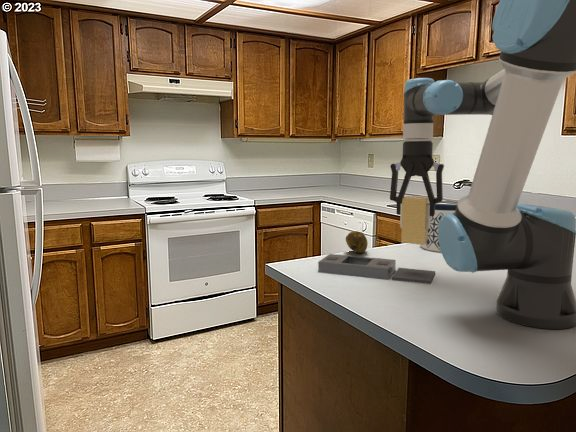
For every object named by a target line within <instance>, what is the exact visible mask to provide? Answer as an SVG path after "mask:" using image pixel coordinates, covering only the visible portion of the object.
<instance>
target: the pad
mask: <svg viewBox="0 0 576 432" xmlns="http://www.w3.org/2000/svg"><path fill="white" fill-rule="evenodd" d="M435 275H436V270H427V269H426V270H425V269H417V268H416V269H415V268H407V267H398V268H397V270H395V271H394V272H393V274H392V275H391V280H392V281H399V282H408V283H418V284H424V285H425V284H427V285H431V284H432V281H433V279H434V277H435Z"/></svg>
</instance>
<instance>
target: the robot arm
mask: <svg viewBox="0 0 576 432" xmlns="http://www.w3.org/2000/svg"><path fill="white" fill-rule="evenodd" d="M491 25H492V26H491V27H492V29H491V30H492V31H493V34H492V36H491V37H492V41H493V44H494V45H495V47H496V49H497V50H499V51H500V54H499V56H498V61H499V62H500V64H501V65H502V67H503V68H502V70H499V72H497V73H496V74H494V75H492V76H491V77H489V78H488V79H486V80H484V81H454V80H451V79H444V80H442V79H440V80H437V81H435V80H434V79H433V78H430V77H417V78H411V79H408V80H406V81H405V83H404V91H403V124H402V125H403V127H402V129H403V130H402V139H403V140H405V141H403V142H402V158H401V159H400V162H397V163H391V164H390V171H391V181H390V192H389V200H390V201H393V202H395V203H396V215H399V217H400V218H399V219H400V220H399V221H400V222H399V227H400V228H401V229H402V198H404V197H405V196H406V193H407V189H408V187H409V184H410V181H411V178H412V177H415V176H417V177H421V179H422V181H423V184H424V189H425V191H426V194H427V196H428V199H429V203H428V204H427V211H426V229H429V228H430V216H434V215H435V204H440V203H441V202H443V201H444V196H443V171H444V167H445V164H443V163H438V162H435V161H434V158H433V145H434V143H433V141H432V139H433V138H434V120H435V118H434V116H441V115H443V116H447V115H448V116H455V115H456V116H457V115H458V116H460V115H461V116H462V115H467V116H468V115H483V116H484V115H486V116H487V115H489V116H491V119H490V122H489V126H488V128H487V133H486V135H485V138H484V142H483V145H482V149H481V152H480V156H479V158H478V162H477V165H476V169H475V172H474V176H473V179H472V182H471V186H470V188H469V189H470V190H469V193H468V194H466V195H464V196H461V198H459V200H458V201H457V204H456V205H457V207H456V210H455V213H454V214H451V213H448V214H446V215H444V216H443V217H442V218H441V219H440V221H439V225H438V241H439V246H440V250H441V252H440V253H441V255H442V258H443V259H444V261H445V263H446V265H448V267H449V268H450V269H452V270H454V271H456V272H458V273H461V272H462V273H476V272H487V271H488V272H489V271H490V272H491V271H504V270H507V273H506V274H507V275H506V277H505V280H504V283H503V285H502V287H501V290H500V292H499V293H498V296H497V298H496V303H495V305H496V306H495V311H496V313H497V314H498V315H499V316H500V317H502V318H504V319H505V320H507V321H510V322H513V323H515V324H519V325H522V326H525V327H526V326H527V327H532V328H538V329H547V330H549V329H550V330H560V329H561V330H562V329H570V328H572V327H575V326H576V297H575V292H574V289H573V286H572V277H573V265H574V253H575V246H576V244H575V243H576V216H575V214H574V213H573V212H572V211H569V210H565V209H561V208H554V207H550V206H548V207H547V206H542V205H534V204H524V203H519V201H520V199H521V196H522V193H523V190H524V188H525V185H526V182H527V179H528V177H529V174H530V173H531V168H532V166H533V163H534V160H535V157H536V155H537V152H538V150H539V147H540V144H541V142H542V139H543V137H544V136H543V135H544V134H545V130H546V128H547V125H548V123H549V120H550V117H551V115H552V111H553V109H554V106H555V104H556V101H557V98H558V96H559V93H560V90H561V88H562V85H563V83H564V80H565V79H567V78H568V77H570V76H572V75H574V74H576V0H499V2H498V4H497V7H496V9H495V13H494V16H493V19H492V24H491ZM401 167H402V169H403V171H405V174H404V177H403V181H402V184H401V186H400V190H399V192H398V195H397V191H398V182H399V180H398V179H399V171H400V170H401ZM432 167H433V170H434V171H435V172H436V173H435V180H436V181H435V182H436V197H435V195H434V191H433V190H434V189H433V188H432V184H431V181H430V177H429V171H430V170H431V169H432Z"/></svg>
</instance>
